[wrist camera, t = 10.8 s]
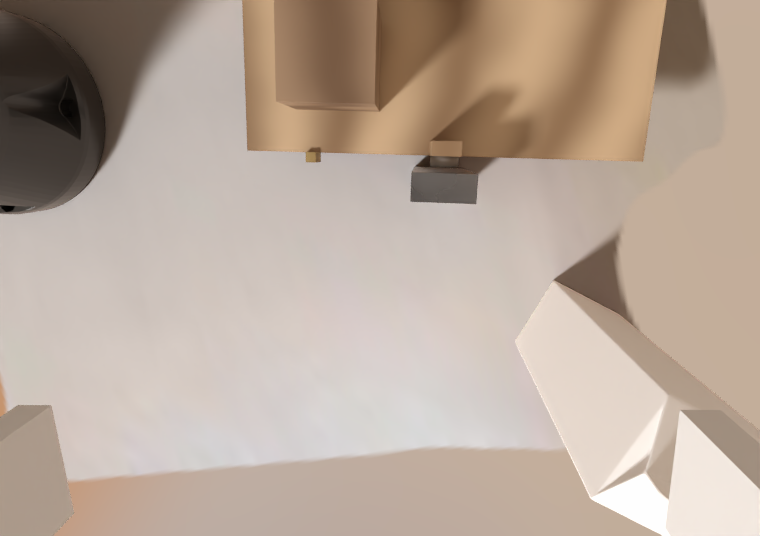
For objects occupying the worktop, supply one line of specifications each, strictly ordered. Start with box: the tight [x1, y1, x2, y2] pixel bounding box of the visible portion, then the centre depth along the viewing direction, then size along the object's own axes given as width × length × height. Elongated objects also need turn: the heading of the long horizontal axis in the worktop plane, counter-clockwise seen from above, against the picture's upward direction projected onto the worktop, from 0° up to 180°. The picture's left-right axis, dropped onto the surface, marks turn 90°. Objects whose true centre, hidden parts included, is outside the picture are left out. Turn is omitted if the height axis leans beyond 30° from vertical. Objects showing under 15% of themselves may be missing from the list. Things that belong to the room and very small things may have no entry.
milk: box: [515, 281, 760, 536], centre depth 29 cm, size 6×6×22 cm
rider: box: [274, 0, 382, 112], centre depth 27 cm, size 5×5×5 cm
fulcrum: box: [411, 167, 478, 204], centre depth 31 cm, size 4×15×11 cm, turn 179°
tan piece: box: [242, 0, 667, 167], centre depth 30 cm, size 24×11×9 cm, turn 89°
